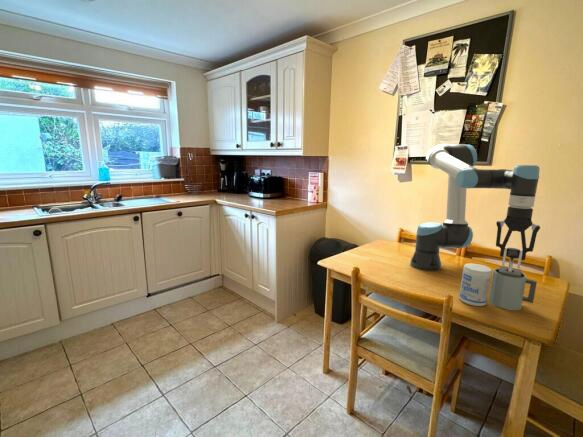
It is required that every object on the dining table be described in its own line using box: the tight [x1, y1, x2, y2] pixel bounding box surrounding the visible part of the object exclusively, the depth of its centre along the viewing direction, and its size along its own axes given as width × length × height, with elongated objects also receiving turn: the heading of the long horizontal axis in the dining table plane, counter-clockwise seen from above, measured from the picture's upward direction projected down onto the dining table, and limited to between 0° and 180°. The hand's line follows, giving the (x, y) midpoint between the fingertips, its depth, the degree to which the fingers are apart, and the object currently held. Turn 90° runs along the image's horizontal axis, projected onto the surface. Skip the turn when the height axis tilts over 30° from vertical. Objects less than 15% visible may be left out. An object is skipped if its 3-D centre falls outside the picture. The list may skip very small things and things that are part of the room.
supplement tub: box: [458, 262, 493, 307], centre depth 119 cm, size 10×10×15 cm
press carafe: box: [488, 265, 538, 311], centre depth 116 cm, size 14×10×14 cm
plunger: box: [506, 247, 520, 277], centre depth 116 cm, size 8×8×20 cm
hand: (510, 266), depth 115 cm, fingers open, 4 cm apart
